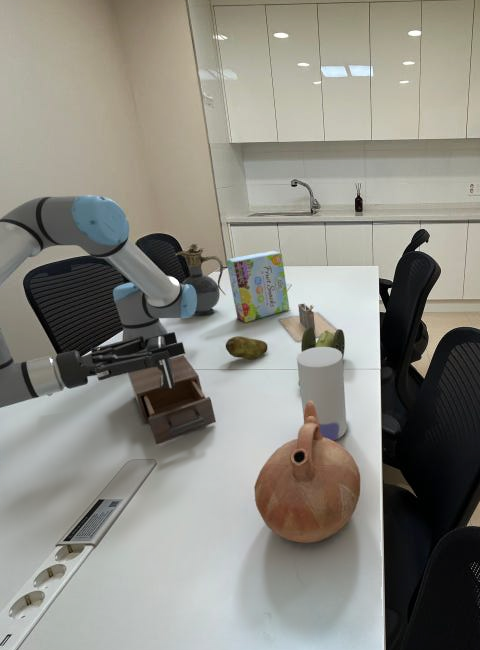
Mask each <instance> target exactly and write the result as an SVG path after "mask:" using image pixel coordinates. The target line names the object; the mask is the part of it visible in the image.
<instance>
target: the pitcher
mask: <svg viewBox="0 0 480 650" xmlns="http://www.w3.org/2000/svg"><path fill="white" fill-rule="evenodd" d="M187 249H188V250H182V251H179V252H177V253H175V256H179V255H180V256H182V257H183V258H184V259H185V261H186V265H187V267H188V271H189V277H187V278H185V279H184V280H183V282H182V283H181V284H182V285H185V284H188V285H192V286H193V287H194V289H195V291H196V296H197V306H196V310H195V313H194V315H195V316H207V315H210V314H212V313H214V311H215V310H214V309H213V308H214V307H215V306H217V304H218V303H219V300H220V295H221V294H220V293H222V294H224V295H226V293H225V292H224V291H223V289H222V288H221V286H220V283H221V279H222V275H223V271H224V264H223V261H222V260H221V259H220V257H218V255H217V256H216V255H208V256H206V257H205V256H202V253H204V250H205V248H202V247H201V248H199V249H198V244H197V243H192V244H191V245H190V246H187ZM209 260H215V261H217V262H218V263H219V266H220V268H219V271H220V272H219V275H218V279H217V282H216V281H215V280H214V279H213V278H212V277H210V276H209V275H206V274H203V270H202V264H203V263H204V262H208V261H209ZM220 291H221V292H220Z"/></svg>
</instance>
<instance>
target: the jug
mask: <svg viewBox="0 0 480 650" xmlns="http://www.w3.org/2000/svg"><path fill="white" fill-rule="evenodd" d="M255 480H256V481H255V484H254V486H253V487H254V490H253V491H254V501H255V506H256V509H257V511H258V513H259V515H260V517H261V518H262V521H263V522H264V524H265V526H267V527H268V528H269V530H270V531H271V532H273V534H275V535H278V536H279V537H281V538H283V539H285V540H287V541H292V542H296V543H300V544H303V543H304V544H315V543H318V542H319V543H320V542H322V541H324V540H326V539H329V538H330V537H332V536H333V535H335V534H336V533H338V532H339V531H340V530H342V529H343V528H344V527H345V526H346V524H347V523H348V522H349V521H350V520H351V518H352V516H353V515H354V513H355V511H356V508H357V507H358V502H359V499H360V494H361V474H360V469H359V467H358V465H357V463H356V461H355V458H354V457H353V456H352V454H351V453H349V451H348V450H347V449H346V448H345V447H344V446H342V445H341V444H339V443H338V442H336V441H335V440H334V441H332V440H330V439H327V438H324V437H322V435H321V433H320V426H319V422H318V418H317V413H316V410H315V406H314V403H313V401H308V402H307V404H306V407H305V412H304V417H303V425H302V426H300V428H299V429H298V434H297V438H295V439H292V440H290V441H288V442H285V443H284V444H282V445H281V446H280V447H278V448H277V449H276V450H275V451H274V452H273V453H272V454H271V455H270V456H269V457H268V458H267V460H266V462H265V463H264V464H263V466H262V468H261V469H260V471H259V474H258V476H257V478H256V479H255Z"/></svg>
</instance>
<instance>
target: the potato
mask: <svg viewBox="0 0 480 650" xmlns="http://www.w3.org/2000/svg"><path fill="white" fill-rule="evenodd" d="M225 350H226V352H228V354H229V355H230V356H232V357H234V358H237V359H238V358H239V359H244V360H254V359H257V358H259V357H261V356H263V355H265V354H266V353H267V352H268V343H267V342H265V340H261V339H256V338H250V337H246V336H241V335H240V336H233V337H231V338H229V339H227V341H226V342H225Z"/></svg>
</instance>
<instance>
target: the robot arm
mask: <svg viewBox="0 0 480 650" xmlns="http://www.w3.org/2000/svg"><path fill="white" fill-rule="evenodd" d="M56 246H77V247H80V248H81V249H82V250H83V251H85V252H86V253H87V254H88V255H89V256H91V257H93V258H96V259H103V260H104V261H106V262H107V263H108V264H109V265H111V266H112V267H113V268H114V269H115V270H116V271H118V272H119V273H120V274H121V275H122V276H124V277H125V278H126V279H127V280H128V281H129V282H126V283H122V284H120V285H117V286H116V287H114V289H113V291H112V296H113V302H114V304H115V307H116V311H117V313H118V316H119V319H120V322H121V326H122V340H121V341H117V342H112V343H109V344H106V345H102V346H96V347H91V348H90V352H91V353H88V354H85V355H82V356H81V355H80V352H79V351H78V350H76V349H73V350H69V351H65V352H61V353H57V355H56V356H55V357H54V356H53V355H46V356H43V357H39V358H34V359H30V360H27V361H23V362H18V363H17V362H15V360H14V359H13V356H12V353H11V351H10V349H9V347H8V344H7V341H6V340H5V338H4V335H3V332H2V329H1V327H0V409H1V408H6V407H8V406H12V405H15V404H20V403H23V402H26V401H29V400H32V399H37V398H40V397H41V398H42V397H44V396H47V397H51V396H53V394H56V393H58V392H62V391H64V390H65V388H66V389H69V390H71V389H73V388H78V387H81V386H82V387H83V386H85V385H87V384H88V383H89V378H88V377H94V376H96V377H97V379H98V381H103V380H106V379H110V378H112V377H116V376H121V375H125V374H128V373H130V372H134V371H139V370H143V369H147V368H151V367H154V366H155V363H154V362H156V361H160V360H163V359H167V358H170V359H171V358H175V357H179V356H182V355H186V350H185V347H184V343H183V342H182V341H180V342H178V340H177V336H176V331H171V332H169V330H166V328H165V327H164V325H163V324H162V322H161V321H160V319H181V320H182V319H188V318H189V319H190V318H192V317H193V315H195V311H196V306H197V296H196V291H195V289H194V287H193V286H192V285H188V284H185V285H182V283H181V282H179V280H178V279H176V278H175V277H174V276H171V275H166V274H165V273H164V272H163V270H161V269H160V268H159V267H158V265H156V264H155V263H154V262H153V261H152V260H151V259H150V257H148V256H147V255H146V253H144V252H143V251H142V250H141V249H140V247H138V245H136V243H134V241H132V239H130V223H129V220H128V219H127V215H126V213H125V211H124V210H123V208H122V207H121V206H120V205H119V204H118V203H117V202H115V201H114V200H113V199H111V198H108V197H106V196H102V195H92V194H84V195H70V196H42V197H41V196H40V197H37V198H32V199H31V200H28V201H26V202H24V203H22V204H20V205H18V206H16V207H15V208H13V209H12V210H11V211H9V212H7V213H6V214H5V215H3V216H2V217H1V218H0V286H1V285H2V284H3V283H4V282H5V281H6V280H7V279H8V278H10V276H11V275H12V274H13V273H14V272H15V271H16V270H17V269H18V268H19V267H20V266H21V265H23V263H24V262H25V261H26V260H27V259H28V258H34V257H36V256H38V255H39V254H40V253H41V252H42V251H43V250H45V249H47V248H51V247H56ZM160 336H161V337H164V338H165V341H166V345H167V346H164V347H160V348H156V349H152V350H151V352H147V343H148V341H149V339H152V338H157V337H160Z"/></svg>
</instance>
